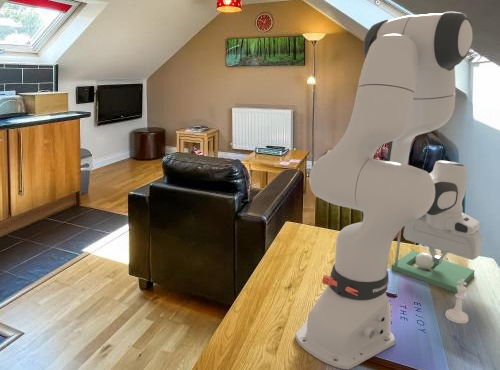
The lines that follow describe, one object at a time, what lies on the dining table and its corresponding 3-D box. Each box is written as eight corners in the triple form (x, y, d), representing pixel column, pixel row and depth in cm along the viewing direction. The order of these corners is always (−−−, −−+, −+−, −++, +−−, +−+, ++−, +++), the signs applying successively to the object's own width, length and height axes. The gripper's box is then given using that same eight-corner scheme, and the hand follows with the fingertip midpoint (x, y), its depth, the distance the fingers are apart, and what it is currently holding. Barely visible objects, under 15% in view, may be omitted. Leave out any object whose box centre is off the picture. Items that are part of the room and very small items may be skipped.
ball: (409, 258, 113) (417, 273, 113) (425, 254, 110) (433, 270, 109) (416, 252, 117) (423, 267, 116) (431, 248, 113) (439, 264, 113)
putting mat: (451, 297, 99) (459, 249, 95) (386, 272, 112) (391, 229, 108) (473, 274, 110) (481, 231, 106) (412, 254, 123) (417, 215, 119)
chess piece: (447, 308, 94) (453, 272, 91) (470, 316, 91) (477, 278, 88) (442, 318, 90) (448, 280, 88) (466, 326, 88) (472, 287, 85)
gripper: (402, 211, 112) (397, 254, 116) (479, 230, 97) (470, 279, 101) (411, 206, 116) (407, 247, 120) (487, 224, 102) (479, 270, 105)
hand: (436, 262), depth 111 cm, fingers closed
